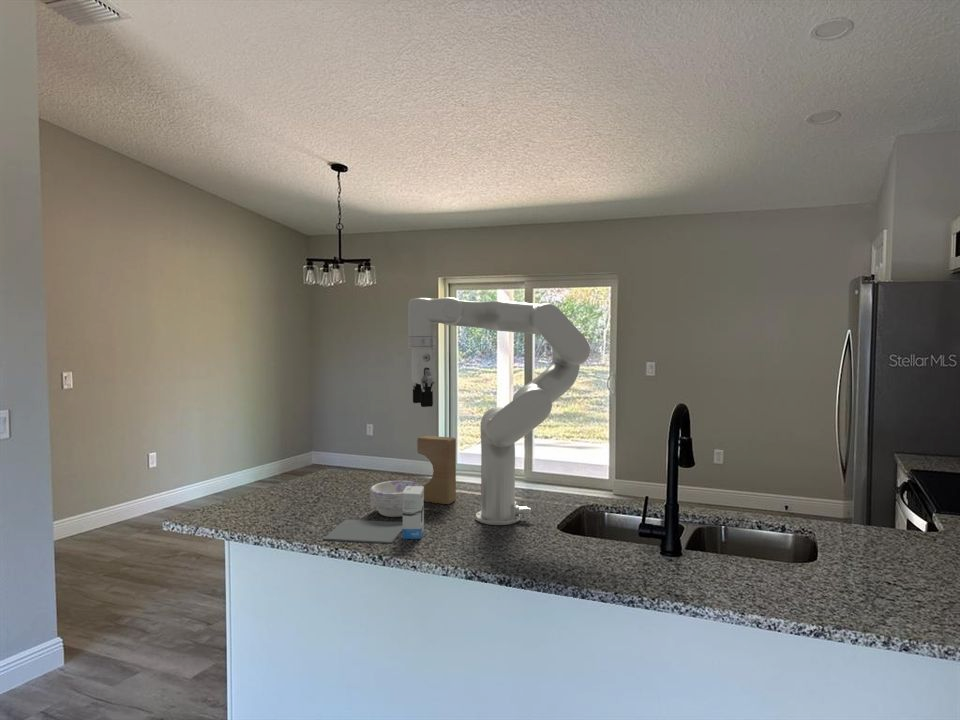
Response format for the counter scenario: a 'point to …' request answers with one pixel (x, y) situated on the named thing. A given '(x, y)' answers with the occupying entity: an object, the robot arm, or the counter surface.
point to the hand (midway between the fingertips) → (422, 404)
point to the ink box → (413, 512)
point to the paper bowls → (389, 497)
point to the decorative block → (440, 468)
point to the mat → (366, 531)
